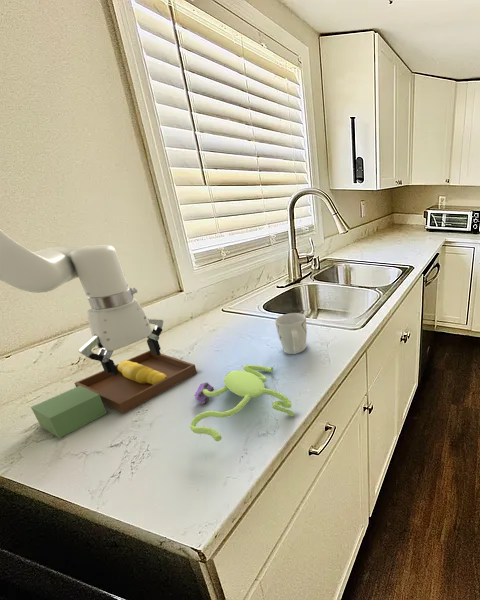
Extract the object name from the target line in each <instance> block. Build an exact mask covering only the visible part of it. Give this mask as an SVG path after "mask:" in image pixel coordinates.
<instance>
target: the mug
mask: <svg viewBox="0 0 480 600" xmlns="http://www.w3.org/2000/svg"><path fill="white" fill-rule="evenodd" d="M274 322H275V328H276V332H277V336H278V339H279V341H280V344H281V346H282V349H283V352H284V353H286V354H289V355H295V354H300V353H302V352H303V351H305V349H306V347H307V336H308V334H307V332H308V331H307V330H308V329H307V317H306V315H305V314H303V313H301V312H300V313H299V312H290V313H285V314H282V315H280V316H278V317H276V319H275V321H274Z"/></svg>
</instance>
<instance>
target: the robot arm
mask: <svg viewBox="0 0 480 600" xmlns="http://www.w3.org/2000/svg"><path fill="white" fill-rule="evenodd" d="M118 254H119V253H118V252H117V250H116V248H115V247H114V246H113V245H111V244H90V245H84V246H49V247H45V248H41V249H38V250H36V251H32V250H30V249H29V248H28V247H25V246H24V245H22V244H21V243H19V242H17V241H16V240H15V239H14V238H12V237H10V236H9V235H8V234H7V233H6V232H4V231H3V230H2V229H1V228H0V281H2V282H4V283H5V284H7V285H10V286H11V287H14V288H16V289H19V290H22V291H24V292H27V293H36V294H37V293H38V294H41V293H42V294H43V293H48V292H51V291H54V290H56V289H58V288H59V287H61V286H63V285H64V284H66V283H68V282H70V281H72V280H75V279H78V278H79V282H80V284H81V286H82V288H83V291H84V293H85V296H86V298H87V301H88V303H89V305H90V309H88V310H87V311H86V312H87V320H88V325H89V330H90V332H91V338H90V339H89V340H88V341H87V342H86V343H84V344H83V346H81V347H80V348H79V349H78V353H80V354H81V355H82V356H85V357H86V358H87V359H91V360H94V361H97V362H100V364H101V366H102V370H104V371H105V372H106V373H107V374H108V373H109V374H111V375H114V376H116V375H117V374H118V372H117V369H116V367H115V365H116V364H115V362H114V360H113V359H111V357H112V355H113V353H114V351H117V350H119V349H123V348H124V347H128V346H130V345H132V344H134V343H137V342H140V341H142V340H144V339H146V343H147V346H148V349H149V350H150V352H151V353H152V354H155V355H160V354H162V353H161V346H160V342H159V340H160V335H161V334H162V332H163V326H164V319H160V318H149V317H147V314H146V313H145V311H144V309H143V307H142V306H141V304H140V303H139V301H138V300H137V299H136V298H134V295H135V294H137V293H138V289H137V288H136V287H133V288H132V287H130V286H129V283H128V280H127V278H126V274H125V272H124V269H123V266H122V264H121V260H120V257H119V255H118ZM151 325H154V327H153V329H152V327H151ZM95 347H96V348H97V349H99V351H98V353H94V352H93V351H92V350H93V349H94V348H95Z"/></svg>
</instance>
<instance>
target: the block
mask: <svg viewBox="0 0 480 600" xmlns="http://www.w3.org/2000/svg"><path fill="white" fill-rule="evenodd" d="M104 405H105V404H103V403H102V400H101V398H100V396H99V394H97V393H94V392H92V391H90V390H88V389H86V388H84V387H81V386H78V387H76V386H75V387H73V388H71V389H69V390H67V391H65V392H62V393H60V394H58V395H55V396H53V397H51V398H49V399H47V400H44V401H42V402H39V403H38V404H35V405H33V406H31V407H30V408H31V411H32V412H33V414H34V416H35V419H36V420H37V422H38V424H39V426H40V427H41V428H42V429H44V430H46V431H47V432H49V433H51V434H52V435H54V436H55V437H57V438H59V439H61V438H63V437H65V436H67V435H69V434H71V433H72V432H74V431H76V430H78V429H80V428H82V427H84V426H86V425H87V424H89V423H91V422H93V421H95V420H97V419H99V418H101V417H102V416H104V415H106V414H108V412H107V411H106V408H105V406H104Z"/></svg>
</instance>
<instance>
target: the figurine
mask: <svg viewBox="0 0 480 600" xmlns="http://www.w3.org/2000/svg"><path fill="white" fill-rule="evenodd" d="M242 368H243V370H240V369H239V370H233V371H230V372H228V373H227V374H225V376H224V379H223V383H224V385H225V386H223V387H221V388H220V389H217V390H215V388H214V386H212V385H211V384H210V383H208V382H203V383H201V384H199V386H198V388H197V390H196V392H195V393H194V395H193V396H194V397H195V398H194V399H195V400H196V401H198V402H199V403H200V404H202V405H203V404H206V403H207V402H208V401H209V398H212V397H218V396H220V395H222V394H225V393H226V392H228V391H230V392H231V393H232V394H234V395H237V396H238V397H242V399H241V400H240V401H239V403H237V405H236V406H234V407H233V408H232V409H229V410H226V411H216V410H206V411H203V412H200V413H199V414H197V415H196V416H195V417H193V419H192V420H191V423H190V425H189V426H190V427H189V429H190V430H191V431H192V432H193V433H195V434H197V435H200V434H201V435H202V434H204V435H208V436H210V437H211V438H213V440H214V441H215V442H220V441H222V439H223V437H222V435H221V434H220V432H219V431H217V430H216V429H214V428H212V427H208V426H197V424H198V423H199V422H200V421H202V420H203V419H206V418H210V417H211V418H221V419H222V418H229V417H231V416H234V415H236V414H238V413H239V412H240V411H241V410H242V409H243V408H244V407H245V406H246V405H247V404H248V402H249V401H250V400H251V399H252V398H253V399H254V398H258V397H260V396H262V395H263V394H264V395H269V396H272V397H275V398H277V399H278V400H274V401H273V402H272V406H271V407H272V409H274V410H275V411H279V412H282V413H285V414H287V415H289V416H290V417H293V416H295V412H293V410H289V409H291V408H292V401H291V400H290V399H289V398H288V397H287V396H285V395H284V394H282V393H281V392H279V391H276V390H274V389H270V388H265V384H264V383H265V382H267V381H268V377H266V376H265V375H264V374H263V373H261V371H262V372H267V373H272V372H274V366H271V367H269V366H264V365H256V364H255V365H254V364H245V365H244V366H243V367H242Z"/></svg>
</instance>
